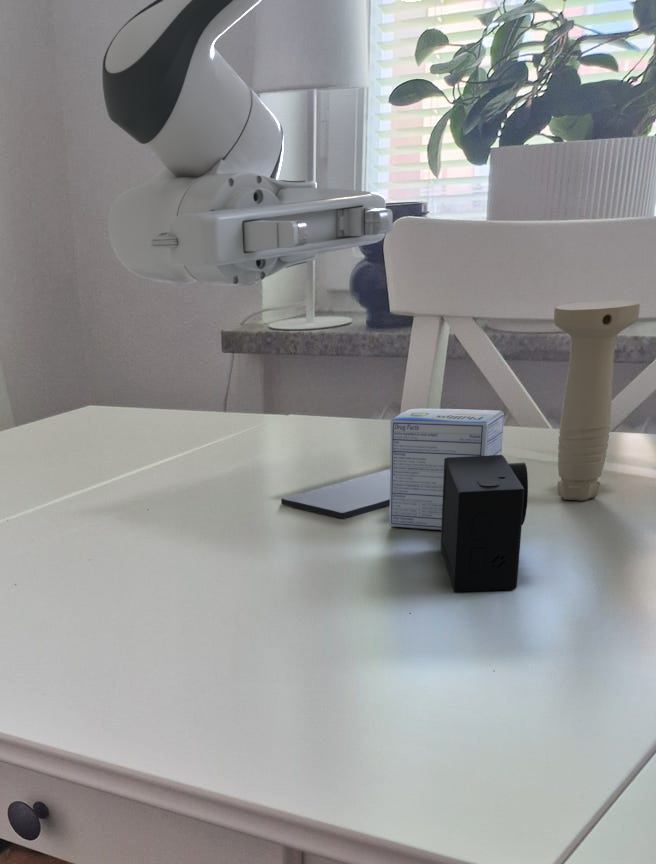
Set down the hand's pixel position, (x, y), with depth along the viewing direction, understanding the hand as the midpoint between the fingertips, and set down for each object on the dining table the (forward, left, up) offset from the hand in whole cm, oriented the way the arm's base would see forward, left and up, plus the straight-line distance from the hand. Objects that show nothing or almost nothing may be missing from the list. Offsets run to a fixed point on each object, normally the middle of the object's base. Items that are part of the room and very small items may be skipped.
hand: (344, 227), depth 93 cm
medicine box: (0, +12, -22) cm, 25 cm away
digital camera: (+7, +22, -22) cm, 32 cm away
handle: (-13, +15, -22) cm, 29 cm away
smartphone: (-3, 0, -22) cm, 22 cm away
